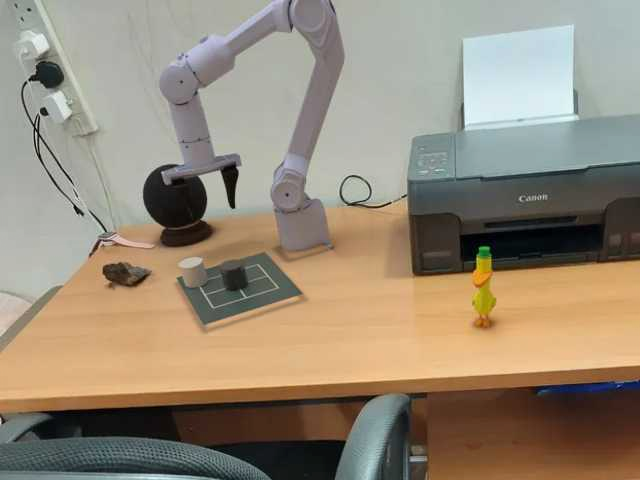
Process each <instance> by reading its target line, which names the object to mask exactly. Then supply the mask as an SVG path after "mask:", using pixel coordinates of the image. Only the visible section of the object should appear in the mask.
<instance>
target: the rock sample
mask: <svg viewBox="0 0 640 480" xmlns="http://www.w3.org/2000/svg"><path fill="white" fill-rule="evenodd" d="M151 273H153V270H150V269H149V270H148V269H147V268H145V267H142V266H138V265H137V266H133V265H132V264H130V263H129V262H127V261H119V262H113V263H112V262H111V263H110V262H109V263H108V264H104V265H103V266H102V272H101V274H102V275H103V276H104V278H105V279H106V280H107V281H109V282H111V283H112V284H114V283H115V282H114V281H117V282H119V283H121V284H124V285H129V286H132V285H133V284H135V283H136V282H138V281H139V280H141V279H142V278H143V277H145V276H147V275H148V276H149V275H150V274H151Z"/></svg>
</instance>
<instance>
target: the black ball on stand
mask: <svg viewBox="0 0 640 480" xmlns="http://www.w3.org/2000/svg"><path fill="white" fill-rule="evenodd" d="M180 165H181V164H177V163H167V164H163V165H160V166H159V167H156V168H155V169H154V170H153V171H151V172H150V173H149V175H148V177H146V178H145V182H144V184H143V189H142V200H143V205H144V207H145V210H146V211H147V213H148V214H149V216H150V218H151V219H152V220H153V221H154V222H155V223H157V224H158V225H160V226H161V227H163V229H162V231H161V234H160V237H159V238H160V239H159V240H160V243H161V244H162V245H164V246H166V247H173V248H174V247H175V248H176V247H185V246H189V245H194V244H197V243H200V242H202V241H204V240H205V239H207V238H209V237H210V236H211V235H212V233H213V229H212V226H211V225H210V224H209V223H208V222H207V221H205V220H202V219H203V217H204V216H205V213H206V211H207V207H208V194H207V189H206V187H205V185H204V183H203V181H202V179H201V178H200V177H199V176H195V177H191V178H187V179H184V180H185V181H186V184H187V185H188V187H189V192H190V196H191V200H192V204H193V207H194V210H195V212H196V216H197V219H195V220H193V218H192V217H191V214H190V212H189V210H188V208H187V206H186V204H185V203H184V201H183V199H182V198H181V196H180V195H179V194H178V192H177V191H176V190H175V188H174V187H173V186H172V185H171V184H168V185H166V184H165V183H164V180H163V177H162V173H161V172H162V171H166V170H169V169H172V168H175V167H177V166H180Z"/></svg>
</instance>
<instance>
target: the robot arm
mask: <svg viewBox="0 0 640 480" xmlns="http://www.w3.org/2000/svg"><path fill="white" fill-rule="evenodd" d="M337 13H338V12H337V9H336V7H335V5H334V4H333V2H332V0H274V1H272V2H270V3H269V4H267V5H266V6H265V7H264V8H262V9H261V10H260V11H258V12H257V13H256V14H254V15H253V16H252V17H250V18H249V19H247V20H246V21H245V22H244V23H242V24H241V25H240V26H238V27H236V29H234V30H233V31H231V32H230V33H229V34H228V35H226V36H224V35H223V36H222V35H220V34H215V33H212V34H211V35H210V36H208V34H207V33H206V34H204V35H203V36H201V37H199V39H198V41H199V43H198V44H197V45H196V46H194V47H193V48H192V49H190V50H188V51H187V52H186V53H184V52H180V53H179V54H177V56H176V59H177V60H174V61H173V62H170V63H169V64H168V65H167V66H165V68H164V69H163V70H162V71H161V73H160V75H159V79H158V86H159V90H160V93H161V94H162V97H164V98H165V99H166V100H167V104H168V107H169V111H170V116H171V117H170V118H171V120H172V123H173V127H174V131H175V134H176V138H177V142H178V146H179V150H180V153H181V156H182V159H183V164H179V165H180V166H177V167H175V168H172V169H169V170H166V171H162V172H161V173H162V177H163V180H164V183H165V184H166V185H168V184H171V185H172V186H173V187H174V188H175V190H176V191H177V192H178V194H179V195H180V196H181V198H182V199H183V201H184V203H185V204H186V206H187V208H188V210H189V212H190V214H191V217H192V218H193V220H195V219H197V216H196V212H195V210H194V207H193V204H192V200H191V196H190V192H189V187H188V185H187V184H186V181H185V180H184V179H187V178H191V177H195V176H198V177H199V176H202V175H206V174H207V175H208V174H211V173H215V172H220V174H221V177H222V181H223V185H224V188H225V193H226V197H227V202H228V206H229V208H230V209H231V210H236V209H237V208H236V192H237V191H236V189H237V184H238V179H239V175H240V171H239V169H238V167H239V168H240V167H242V166H243V163H242V159H241V155H240V154H239V153H238V152H235V153H231V154H224V155H218V156H216V154H215V150H214V146H213V142H212V139H211V134H210V130H209V125H208V122H207V118H206V114H205V110H204V106H203V105H202V100H201V97H200V93H199V89H200V90H201V89H202V90H203V89H206V88H207V87H208V86H210V85H211V84H213V83H215V82H216V81H217V80H219V79H220V78H222V77H223V76H225V75H227V74H228V73H229V72H231V71H233V70H234V68H235V66H236V57H237V56H238V55H240V54H241V53H243V52H245V51H246V50H248V49H249V48H251V47H253V46H254V45H256V44H257V43H259V42H260V41H262V40H264V39H265V38H267V37H268V36H270V35H272V34H273V33H276V32H277V33H285V34H286V33H287V34H291V33H292V32H293V29H295V30H296V31H297V32H298V33H299V34H300V36H301V37H302V38H303V39H304V40H305V41H306V42H307V43H308V46H309V49H310V50H311V53H312V56H313V57H314V60H315V61H314V65H313V68H312V71H311V74H310V78H309V81H308V84H307V87H306V90H305V94H304V97H303V100H302V103H301V107H300V109H299V113H298V117H297V119H296V122H295V125H294V128H293V131H292V134H291V137H290V140H289V143H288V147H287V149H286V152H285V155H284V158H283V160H282V162H281V163H280V164H279V165H278V166H277V167H276V168H275V170H274V173H273V180H272V184H271V186H270V188H269V196H270V200H271V203H272V204H273V205H272V207H273V211H274V217H275V221H276V227H277V232H278V236H279V237H278V238H279V241H280V245H281V246H280V247H281V248H282V250H284V251H286V252H302V251H305V250H309V249H311V248H313V247H315V246H318V245H321V244H324V245H325V246H326V247H327V248H329V249H332V248H333V244H332V243H331V236H330V231H329V230H330V229H329V223H328V217H327V214H326V210H325V207H324V203H322V200H321V199H319V198H317V197H315V198H311V197H310V196H309V195H308V194H307V193H306V185H307V175H308V171H309V167H310V164H311V162H312V161H311V160H312V158H313V155H314V152H315V149H316V146H317V143H318V141H319V137H320V134H321V131H322V129H323V125H324V122H325V119H326V117H327V114H328V110H329V108H330V105H331V102H332V99H333V96H334V93H335V90H336V88H337V84H338V81H339V78H340V76H341V74H342V73H341V72H342V71H343V70H342V69H343V66H344V64H345V57H346V55H345V49H344V44H343V38H342V34H341V28H340V25H339V19H338V14H337Z"/></svg>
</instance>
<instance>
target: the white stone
mask: <svg viewBox="0 0 640 480" xmlns="http://www.w3.org/2000/svg"><path fill="white" fill-rule="evenodd" d="M178 267H179V270H180V274H181V276H182V277H183V280H184V284H185V286H186V287H188V288H196V287H200V286H203V285H205V284H206V283H207V282H208V277H207V273H206V270H205V269H206V265H205V262H204V260H203V258H201V257H197V256H194V257H188V258H185V259H182V260H181V261H180V262H179V263H178Z"/></svg>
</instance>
